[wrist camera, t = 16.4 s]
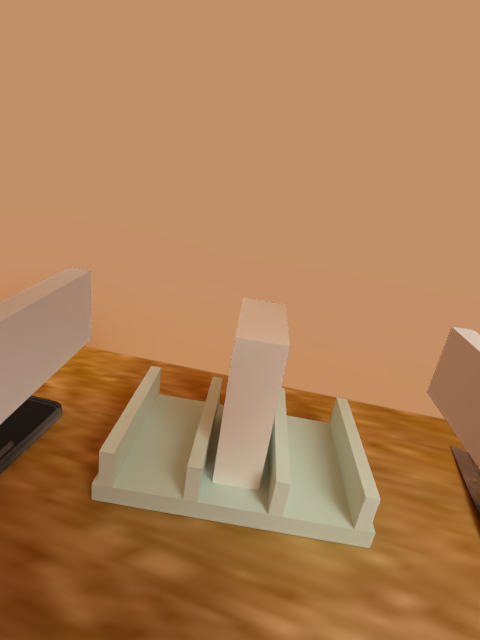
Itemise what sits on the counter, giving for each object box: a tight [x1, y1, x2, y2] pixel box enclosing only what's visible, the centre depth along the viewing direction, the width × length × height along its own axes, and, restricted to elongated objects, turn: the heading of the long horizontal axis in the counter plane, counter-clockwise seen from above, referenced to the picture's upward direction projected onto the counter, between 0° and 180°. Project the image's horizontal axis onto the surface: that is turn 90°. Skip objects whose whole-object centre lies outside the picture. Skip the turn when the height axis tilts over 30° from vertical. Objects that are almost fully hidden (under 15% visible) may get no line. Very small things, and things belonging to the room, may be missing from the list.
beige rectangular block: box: [212, 298, 290, 490], centre depth 30 cm, size 4×8×12 cm, turn 176°
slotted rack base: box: [92, 366, 381, 548], centre depth 32 cm, size 20×12×4 cm, turn 86°
